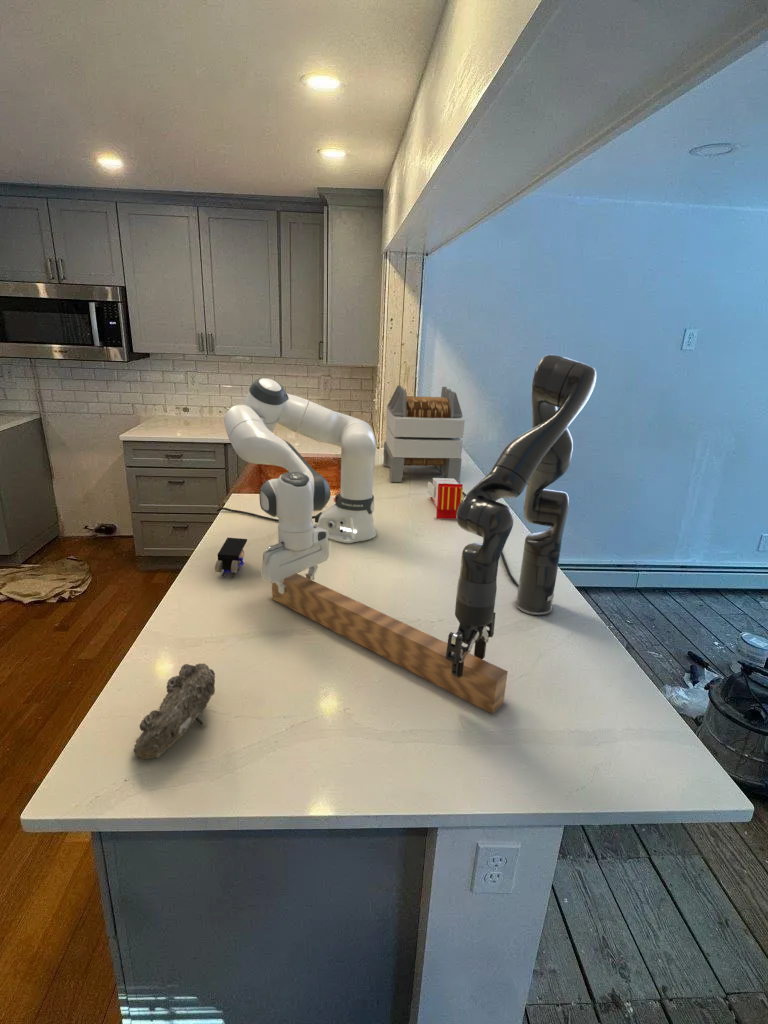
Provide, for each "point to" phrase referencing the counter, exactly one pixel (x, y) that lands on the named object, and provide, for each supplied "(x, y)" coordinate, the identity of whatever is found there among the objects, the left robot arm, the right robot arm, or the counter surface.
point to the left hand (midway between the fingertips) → (296, 586)
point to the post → (395, 641)
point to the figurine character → (230, 556)
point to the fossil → (176, 710)
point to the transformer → (423, 433)
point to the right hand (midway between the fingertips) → (468, 666)
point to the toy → (446, 496)
